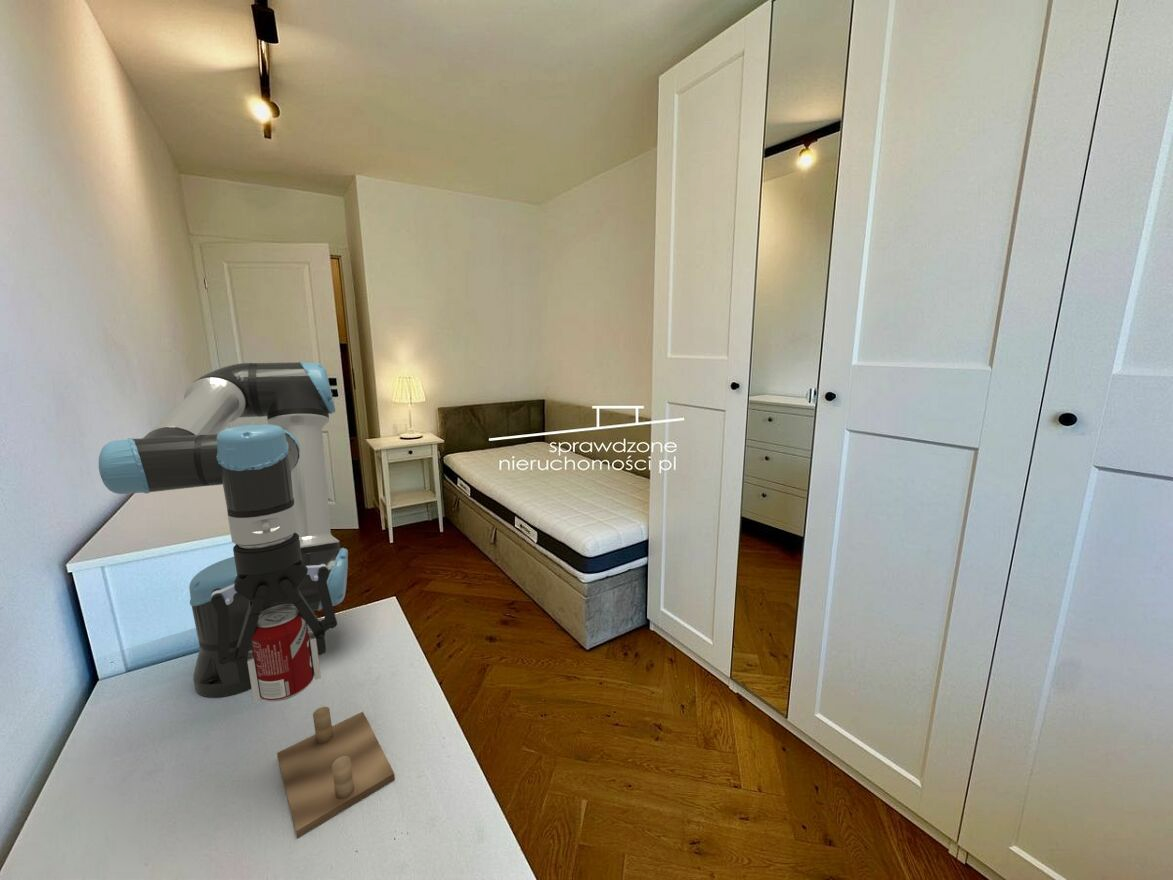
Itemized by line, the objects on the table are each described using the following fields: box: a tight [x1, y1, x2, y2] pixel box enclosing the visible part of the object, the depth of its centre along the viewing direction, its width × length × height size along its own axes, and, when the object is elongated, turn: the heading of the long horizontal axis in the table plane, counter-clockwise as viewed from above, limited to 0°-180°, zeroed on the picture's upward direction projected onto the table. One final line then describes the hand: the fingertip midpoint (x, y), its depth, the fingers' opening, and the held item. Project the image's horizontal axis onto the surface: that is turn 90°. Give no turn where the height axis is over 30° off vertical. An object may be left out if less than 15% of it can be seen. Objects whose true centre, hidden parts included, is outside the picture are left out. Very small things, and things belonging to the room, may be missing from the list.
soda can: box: [251, 604, 315, 702], centre depth 66 cm, size 7×7×12 cm
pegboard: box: [276, 706, 396, 839], centre depth 72 cm, size 16×13×6 cm
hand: (287, 684), depth 67 cm, fingers closed on soda can, 7 cm apart
